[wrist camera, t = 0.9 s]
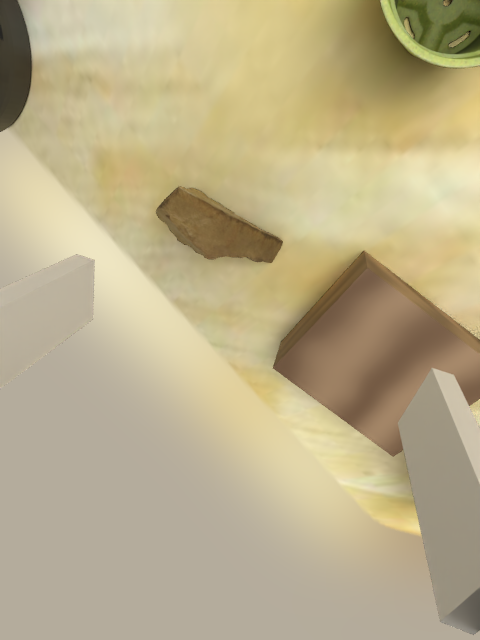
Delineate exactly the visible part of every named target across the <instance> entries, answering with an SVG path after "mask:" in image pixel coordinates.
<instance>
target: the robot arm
mask: <svg viewBox="0 0 480 640" xmlns="http://www.w3.org/2000/svg"><path fill="white" fill-rule="evenodd" d="M30 76H31V56H30V46H29V40H28V34H27V30H26V26H25V22H24V19H23V16H22V13H21V10H20V7H19V5H18V2H17V0H0V132H1V131H3V130H5V129H6V128H8V127H9V126H10V125H11V124H12V123H13V122H14V121H15V120H16V118H17V117H18V116H19V114H20V112H21V110H22V108H23V106H24V104H25V101H26V98H27V95H28V90H29V85H30ZM94 261H95V260H93V259H90V258H87V257H84V256H81V255H78V254H76V255H74V256H72V257H69V258H67V259H65V260H63V261H61V262H58V263H56V264H54V265H51V266H50V267H47V268H45V269H43V270H40V271H38V272H36V273H34V274H31V275H29V276H27V277H25V278H22V279H20V280H18V281H16V282H14V283H11V284H9V285H7V286H5V287H3V288H0V389H1V388H2V387H3V386H5V385H6V384H7V383H9V382H10V381H11V380H13V379H14V378H15V377H16V376H18V375H19V374H21V373H22V372H23V371H25V370H26V369H27V368H29V367H30V366H31V365H33V364H34V363H36V362H37V361H38V360H40V359H41V358H42V357H44V356H45V355H46V354H48V353H49V352H50V351H52V350H53V349H54V348H56V347H57V346H58V345H60V344H61V343H62V342H64V341H65V340H66V339H68V338H69V337H70V336H72V335H73V334H74V333H76V332H77V331H78V330H80V329H81V328H82V327H84V326H85V325H87V324H88V323H89V322H91V321H92V320H93V298H94V297H93V296H94ZM398 426H399V431H400V436H401V440H402V445H403V450H404V455H405V459H406V464H407V469H408V473H409V478H410V483H411V487H412V492H413V497H414V502H415V506H416V511H417V516H418V520H419V525H420V530H421V534H422V539H423V544H424V549H425V553H426V558H427V563H428V567H429V571H430V577H431V581H432V586H433V591H434V595H435V600H436V605H437V610H438V614H439V619H440V622H442V623H444V624H447V625H450V626H452V627H455V628H457V629H460V630H462V631H465V632H467V633H470V634H473V635H474V634H476V633H477V632H478V631H479V630H480V427H479V425H478V423H477V421H476V419H475V417H474V415H473V413H472V411H471V409H470V407H469V405H468V403H467V401H466V399H465V397H464V395H463V393H462V391H461V389H460V386H459V384H458V382H457V380H456V378H455V376H454V375H453V374H450V373H447V372H443V371H440V370H437V369H434V368H431V370H430V372H429V373H428V375H427V377H426V378H425V380H424V381H423V383H422V385H421V386H420V388H419V389H418V391H417V393H416V394H415V396H414V397H413V399H412V401H411V402H410V404H409V406H408V407H407V409H406V410H405V412H404V414H403V415H402V417H401V418H400V420H399V422H398Z"/></svg>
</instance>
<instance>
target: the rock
mask: <svg viewBox="0 0 480 640" xmlns="http://www.w3.org/2000/svg"><path fill="white" fill-rule="evenodd" d="M156 213H157V216H158V218H160V219H161V220H162V221H163V222H165V223H166V224H167V225H168V227H169V229H170V231H171V232H172V233H173V234H174V235H175V236H176V237H177V240H178V241H180V242H181V243H183V244H184V245H188V246H190V247H191V248H193V249H194V251H195V252H196V253H198V254H201V255H204V257H205V258H207V259H211V260H214V259H216V258H218V257H224V256H229V257H239V258H242V257H247V258H249V259H251V260H253V261H255V262H262V261H263V262H268V263H272V262H273V260H274V258H275V256H276V255H277V253H278V251H279V250H280V248H281V246H282V243H283V241H282V240H281V239H279V238H278V237H276V236H274V235H272V234H270V233H268V232H266V231H264V230H262V229H260V228H258V227H257V226H255V225H253V224H252V223H250V222H248V221H246V220H244V219H242V218H241V217H239V216H237V215H235V214H234V212H232V211H231V210H229V209H227V208H225V207H224V206H222V205H221V204H220V203H217V202H216V201H214V200H212V199H210V198H208V197H207V196H206V195H205V194H204V193H202V192H201V191H199V190H197V189H194V188H189V189H186V188H185V187H181V186H179V187H178V188H177V189H175V190H174V191H173V192H172V193H171V194H170V195H169V196H168V197H167V198H166V199H165V200H164V201H163V202H162V204H161V205H160V206H159V207H158V208H157V210H156Z"/></svg>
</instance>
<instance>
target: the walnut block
mask: <svg viewBox="0 0 480 640" xmlns="http://www.w3.org/2000/svg"><path fill="white" fill-rule="evenodd" d="M431 368H434V369H437V370H440V371H443V372H447V373H450V374H453V375H454V376H455V378H456V380H457V382H458V384H459V386H460V389H461V391H462V393H463V395H464V397H465V399H466V401H467V403H468V405H469V406H470V405H471V404H473V403H474V402H476V401H477V400H479V399H480V340H479V339H478V338H476V337H475V336H474V335H473V334H471V333H470V332H469V331H467V330H466V329H465V328H464V327H462V326H461V325H460V324H458V323H457V322H456V321H454V320H453V319H452V318H451V317H449V316H448V315H447V314H445V313H444V312H443V311H442V310H440V309H439V308H438V307H436V306H435V305H434V304H432V303H431V302H430V301H429V300H427V299H426V298H425V297H423V296H422V295H421V294H420V293H418V292H417V291H416V290H414V289H413V288H412V287H410V286H409V285H408V284H407V283H405V282H404V281H403V280H401V279H400V278H399V277H398V276H396V275H395V274H394V273H392V272H391V271H390V270H389V269H387V268H386V267H385V266H383V265H382V264H381V263H379V262H378V261H377V260H376V259H374V258H373V257H372V256H370V255H369V254H368V253H367V252H365V251H363V253H362V254H361V255H360V256H359V257H358V258H357V259H356V260H355V261H354V262H353V263H352V265H351V266H350V267H349V268H348V269H347V270H346V271H345V272H344V273H343V274H342V276H341V277H340V278H339V279H338V280H337V281H336V282H335V283H334V284H333V285H332V287H331V288H330V289H329V290H328V291H327V292H326V293H325V294H324V295H323V296H322V297H321V299H320V300H319V301H318V302H317V303H316V304H315V305H314V306H313V307H312V308H311V310H310V311H309V312H308V313H307V314H306V315H305V316H304V317H303V318H302V319H301V321H300V322H299V323H298V324H297V325H296V326H295V327H294V328H293V329H292V330H291V331H290V333H289V334H288V335H287V336H286V337H285V338H284V339H283V340H282V341H281V344H280V347H279V350H278V353H277V356H276V359H275V363H274V366H273V369H275V370H276V371H278V372H279V373H280V374H282V375H283V376H284V377H286V378H287V379H288V380H290V381H291V382H292V383H294V384H295V385H297V386H298V387H299V388H301V389H302V390H303V391H305V392H306V393H307V394H309V395H310V396H312V397H313V398H314V399H316V400H317V401H318V402H320V403H321V404H322V405H324V406H325V407H326V408H328V409H329V410H331V411H332V412H333V413H335V414H336V415H337V416H339V417H340V418H341V419H343V420H344V421H345V422H347V423H348V424H350V425H351V426H352V427H354V428H355V429H356V430H358V431H359V432H360V433H362V434H363V435H365V436H366V437H367V438H369V439H370V440H371V441H373V442H374V443H375V444H377V445H378V446H379V447H381V448H382V449H384V450H385V451H386V452H388V453H389V454H390V455H392V456H395V455H396V454H398V453H399V452H401V451H402V450H403V445H402V440H401V436H400V431H399V426H398V422H399V420H400V418H401V417H402V415H403V414H404V412H405V410H406V409H407V407H408V406H409V404H410V402H411V401H412V399H413V397H414V396H415V394H416V393H417V391H418V389H419V388H420V386H421V385H422V383H423V381H424V380H425V378H426V377H427V375H428V373H429V372H430V370H431Z"/></svg>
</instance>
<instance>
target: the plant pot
mask: <svg viewBox="0 0 480 640" xmlns="http://www.w3.org/2000/svg"><path fill="white" fill-rule="evenodd" d="M443 1H444V0H380V3H381V7H382V11H383V13H384V16H385V19H386V21H387V23H388V25H389V27H390V29H391V30H392V32H393V33H394V35H395V36H396V38H397V39H398V40H399V41H400V43H401V44H402V45H403V46H404V48H405V49H406V50H407V51H408V52H409V53H410V54H412V55H413V56H415V57H417V58H420V59H422V60H423V61H425V62H428V63H430V64H433V65H436V66H441V67H446V68H470V67H477V66H480V0H452V2H451V4H450V5H449V6H444V5H443ZM406 17H408V18H409V21H410V26H411V29H412V31H413V33H414V34H415V38H414V39H413V38H412V37H411V36H410V35H409V34H408V32H407V31H406V29H405V26H404V20H405V18H406ZM468 31H470V36H469V37H468V38H467V39H465V40H464V41H463V42H461V43H460V44H458V45H457V46H455V47H453V48H452V47H449V46H448V44H449V43H451V42H453V41H455V40H456V39H458V38H460V37H461V36H462V35H464V34H465V33H466V32H468Z"/></svg>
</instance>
